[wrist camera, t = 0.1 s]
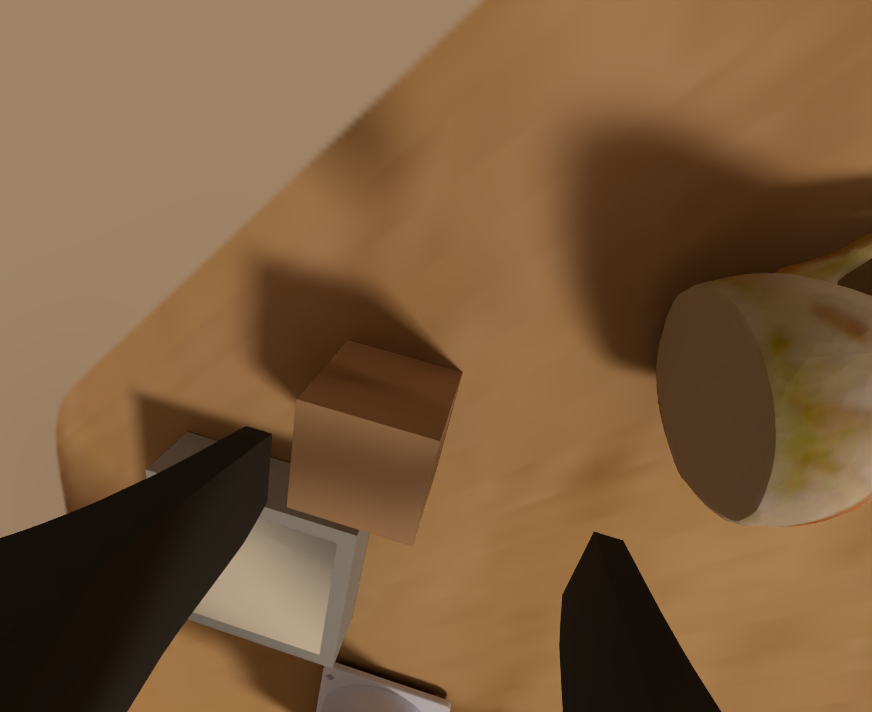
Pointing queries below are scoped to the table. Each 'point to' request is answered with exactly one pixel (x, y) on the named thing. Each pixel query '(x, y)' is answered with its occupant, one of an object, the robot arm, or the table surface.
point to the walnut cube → (370, 440)
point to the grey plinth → (283, 573)
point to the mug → (772, 391)
